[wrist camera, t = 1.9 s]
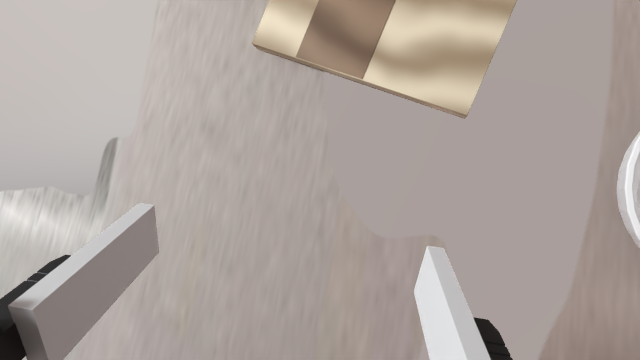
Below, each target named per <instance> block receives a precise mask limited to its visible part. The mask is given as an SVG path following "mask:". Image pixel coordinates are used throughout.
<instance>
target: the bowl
mask: <svg viewBox="0 0 640 360" xmlns="http://www.w3.org/2000/svg"><path fill="white" fill-rule="evenodd" d="M617 197H618V206H619V210H620V213H621V216H622V219H623V222H624V224H625V227H626V229H627V230H628V232H629V234H630V235H631V237H632V239H633V240H634V242H635V243H636V245H637V246H638V247H639V248H640V132H639V133H638V135H637V136H636V137H635V139H634V140H633V142H632V143H631V145H630V147H629V148H628V150H627V151H626V153H625V155H624V158H623V161H622V163H621V166H620V169H619V173H618V182H617Z"/></svg>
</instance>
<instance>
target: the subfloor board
mask: <svg viewBox="0 0 640 360" xmlns="http://www.w3.org/2000/svg"><path fill="white" fill-rule="evenodd" d="M516 1H517V0H269V2H268V5H267V7H266V10H265V12H264V15H263V17H262V20H261V22H260V25H259V27H258V29H257V32H256V34H255V37H254V39H253V42H252V44H253V45H254V46H255V47H256V48H257V49H260V50H263V51H266V52H269V53H272V54H275V55H278V56H280V57H283V58H286V59H289V60H292V61H295V62H298V63H301V64H304V65H307V66H310V67H313V68H316V69H319V70H322V71H325V72H328V73H331V74H334V75H337V76H340V77H343V78H346V79H349V80H352V81H355V82H358V83H361V84H363V85H367V86H369V87H372V88H375V89H378V90H381V91H384V92H387V93H390V94H393V95H396V96H399V97H402V98H405V99H408V100H411V101H414V102H417V103H420V104H423V105H426V106H429V107H432V108H435V109H437V110H441V111H443V112H446V113H450V114H452V115H456V116H459V117H461V118H466V116H467V115H468V112H469V110H470V108H471V106H472V103H473V101H474V99H475V96H476V94H477V92H478V89H479V87H480V85H481V82H482V80H483V78H484V75H485V73H486V71H487V68H488V66H489V64H490V62H491V59H492V57H493V55H494V52H495V50H496V48H497V45H498V43H499V41H500V38H501V36H502V33H503V32H504V29H505V27H506V25H507V22H508V20H509V18H510V15H511V13H512V11H513V8H514V6H515V4H516Z"/></svg>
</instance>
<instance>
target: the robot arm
mask: <svg viewBox="0 0 640 360" xmlns="http://www.w3.org/2000/svg"><path fill="white" fill-rule="evenodd" d="M158 253H159V246H158V237H157V227H156V218H155V208H154V205H149V204H142V203H138V204H137V205H136V206H134V207H133V208H132V209H130V210H129V211H128V212H127V213H125V214H124V215H123V216H122V217H120V218H119V219H118V220H116V221H115V222H114V223H113V224H111V225H110V226H109V227H108V228H106V229H105V230H104V231H102V232H101V233H100V234H99V235H97V236H96V237H95V238H94V239H92V240H91V241H90V242H88V243H87V244H86V245H85V246H83V247H82V248H81V249H79V250H78V251H77V252H76V253H74V254H73V255H72V256H70V255H64V256H62V257H60V258H58V259H55V260H53V261H51V262H49V263H48V264H47V265H45V266H44V267H43V268H41V269H40V270H39V271H37V273H35V274H33V275H32V276H31V277H29V278H28V279H27V281H24V282H23V283H21V284H20V285H19V286H17V287H16V288H15V289H13V290H12V291H11V292H9V293H8V294H7V295H5V296H4V297H3V298H1V299H0V360H22V359H23V358H24V357H25V356H26V357H27V360H63V359H64V358H65V357H66V356H67V355H68V353H69V352H70V351H71V350H72V349H73V348H74V347H75V346H76V344H77V343H78V342H79V341H80V340H81V339H82V338H83V337H84V336H85V334H86V333H87V332H88V331H89V330H90V329H91V328H92V327H93V325H94V324H95V323H96V322H97V321H98V320H99V319H100V318H101V316H102V315H103V314H104V313H105V312H106V311H107V310H108V309H109V308H110V306H111V305H112V304H113V303H114V302H115V301H116V300H117V299H118V297H119V296H120V295H121V294H122V293H123V292H124V291H125V290H126V288H127V287H128V286H129V285H130V284H131V283H132V282H133V281H134V280H135V278H136V277H137V276H138V275H139V274H140V273H141V272H142V271H143V269H144V268H145V267H146V266H147V265H148V264H149V263H150V262H151V261H152V259H153V258H154V257H155V256H156V255H157V254H158ZM414 294H415V299H416V303H417V307H418V311H419V316H420V320H421V324H422V328H423V333H424V337H425V341H426V345H427V349H428V354H429V358H430V360H512V358H510V353H509V352H508V349H507V348H506V347H505V343H504V341H503V339H502V337H501V335H500V333H499V332H498V330H497V329H496V328H495V327H494V326H493V325H492V324H491V323H490V321H489V320H486V319H479V318H473V316H472V314H471V311H470V309H469V307H468V304H467V302H466V300H465V297H464V295H463V292H462V290H461V288H460V285H459V283H458V281H457V279H456V276H455V273H454V271H453V269H452V267H451V264H450V262H449V259H448V257H447V255H446V252H445V250H444V248H439V247H432V246H427V248H426V252H425V255H424V259H423V262H422V265H421V269H420V272H419V275H418V279H417V282H416V285H415V289H414Z"/></svg>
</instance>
